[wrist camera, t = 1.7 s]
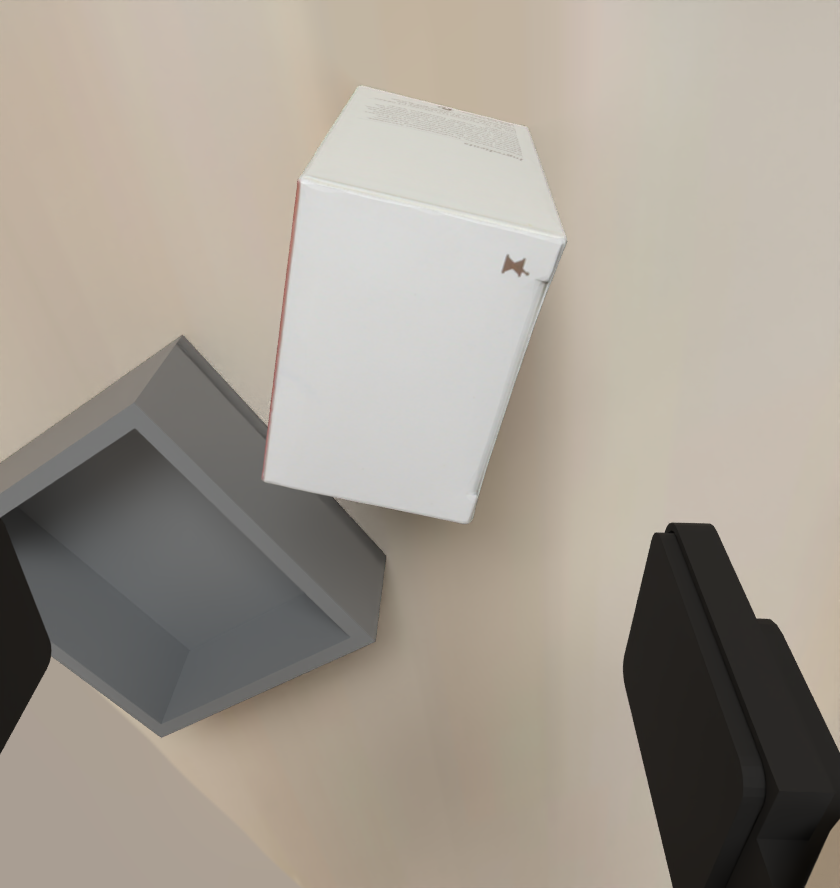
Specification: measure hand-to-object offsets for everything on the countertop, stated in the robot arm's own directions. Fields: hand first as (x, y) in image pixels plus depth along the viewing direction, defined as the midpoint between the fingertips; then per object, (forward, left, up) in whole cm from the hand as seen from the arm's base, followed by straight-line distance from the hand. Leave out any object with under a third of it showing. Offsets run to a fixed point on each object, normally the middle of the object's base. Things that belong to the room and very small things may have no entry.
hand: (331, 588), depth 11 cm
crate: (+10, +13, -17) cm, 24 cm away
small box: (0, 0, -18) cm, 18 cm away
